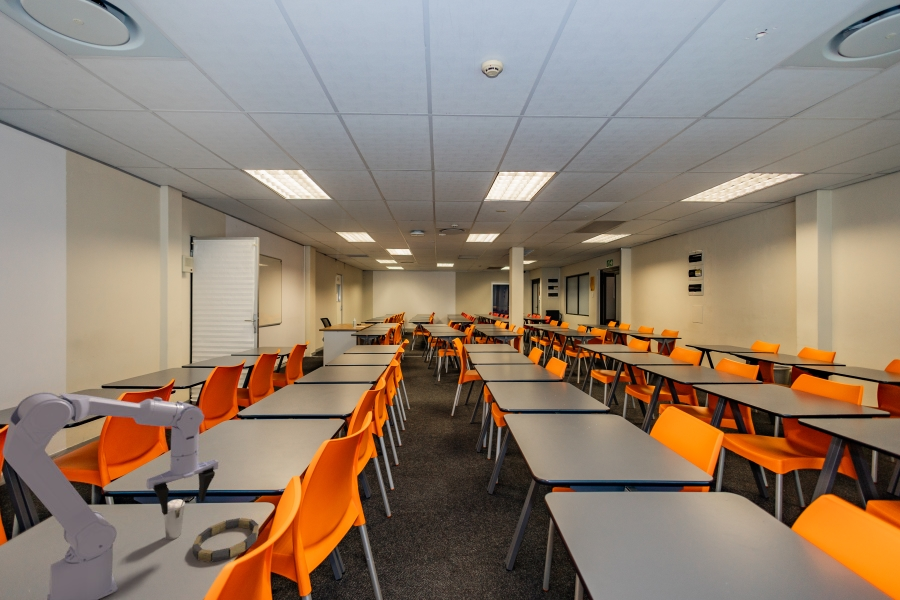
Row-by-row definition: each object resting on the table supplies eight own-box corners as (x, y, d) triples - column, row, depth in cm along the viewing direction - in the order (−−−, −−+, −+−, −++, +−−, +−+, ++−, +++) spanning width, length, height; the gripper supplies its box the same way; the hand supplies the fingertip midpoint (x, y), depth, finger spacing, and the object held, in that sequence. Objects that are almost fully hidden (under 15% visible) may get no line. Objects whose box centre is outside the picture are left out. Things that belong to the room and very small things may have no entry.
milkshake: (174, 543, 92) (175, 504, 92) (157, 540, 93) (158, 501, 93) (191, 532, 97) (191, 495, 97) (174, 529, 98) (175, 492, 98)
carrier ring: (204, 570, 83) (205, 561, 83) (186, 544, 92) (186, 536, 92) (267, 540, 94) (267, 532, 94) (245, 519, 103) (245, 512, 103)
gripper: (152, 466, 83) (150, 526, 83) (222, 447, 94) (221, 500, 94) (145, 458, 87) (143, 514, 87) (213, 441, 98) (212, 490, 98)
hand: (183, 506), depth 91 cm, fingers open, 7 cm apart
